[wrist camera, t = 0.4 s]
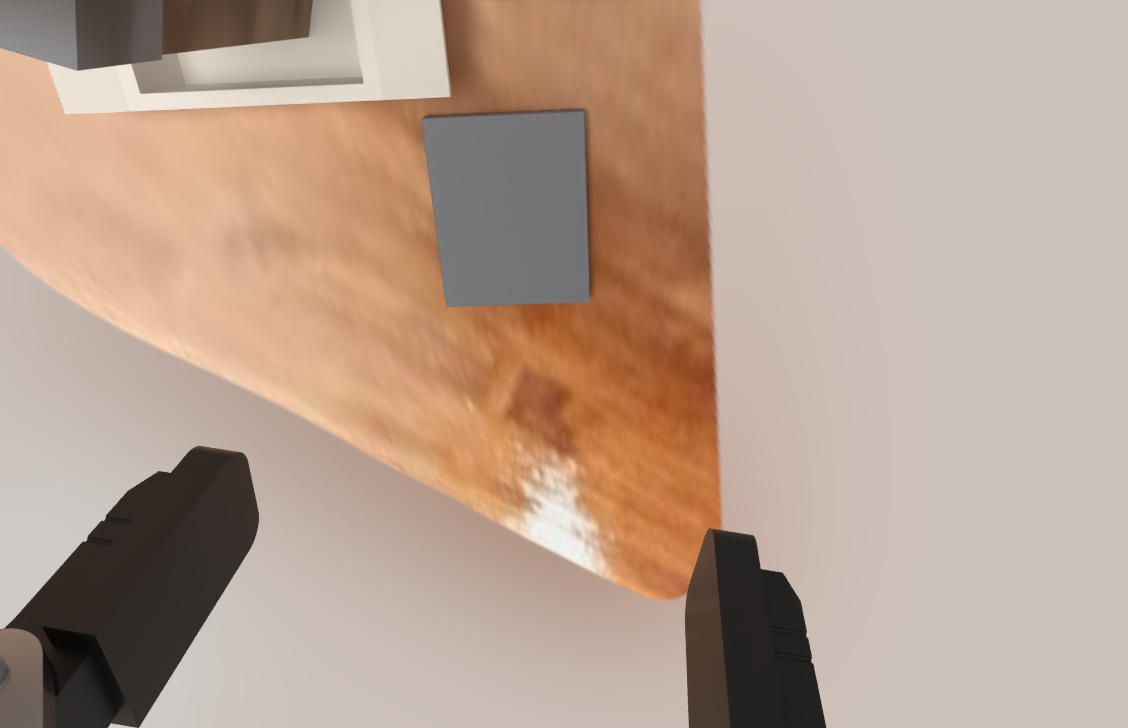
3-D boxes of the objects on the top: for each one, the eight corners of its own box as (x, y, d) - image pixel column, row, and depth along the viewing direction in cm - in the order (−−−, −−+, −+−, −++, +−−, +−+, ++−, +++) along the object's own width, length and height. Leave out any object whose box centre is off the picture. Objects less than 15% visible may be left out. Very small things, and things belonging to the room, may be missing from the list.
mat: (425, 115, 35) (421, 118, 34) (584, 108, 35) (584, 111, 34) (449, 299, 39) (446, 306, 39) (589, 295, 39) (589, 302, 38)
